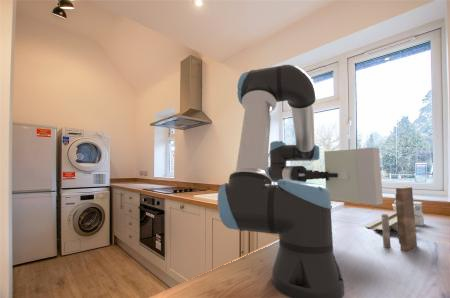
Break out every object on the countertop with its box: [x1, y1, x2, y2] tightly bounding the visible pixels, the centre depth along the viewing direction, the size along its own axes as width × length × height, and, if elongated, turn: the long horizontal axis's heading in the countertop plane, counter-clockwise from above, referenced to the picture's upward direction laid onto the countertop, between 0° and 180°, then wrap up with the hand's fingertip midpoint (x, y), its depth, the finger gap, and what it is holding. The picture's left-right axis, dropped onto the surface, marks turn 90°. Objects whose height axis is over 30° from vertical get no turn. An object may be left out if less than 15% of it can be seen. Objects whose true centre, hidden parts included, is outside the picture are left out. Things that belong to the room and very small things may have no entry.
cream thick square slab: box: [323, 147, 384, 206], centre depth 77 cm, size 17×5×18 cm, turn 35°
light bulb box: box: [393, 200, 425, 227], centre depth 110 cm, size 11×7×11 cm, turn 46°
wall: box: [363, 210, 398, 232], centre depth 95 cm, size 16×9×15 cm
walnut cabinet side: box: [380, 186, 418, 252], centre depth 77 cm, size 6×11×20 cm, turn 125°
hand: (350, 175), depth 77 cm, fingers closed on cream thick square slab, 3 cm apart
